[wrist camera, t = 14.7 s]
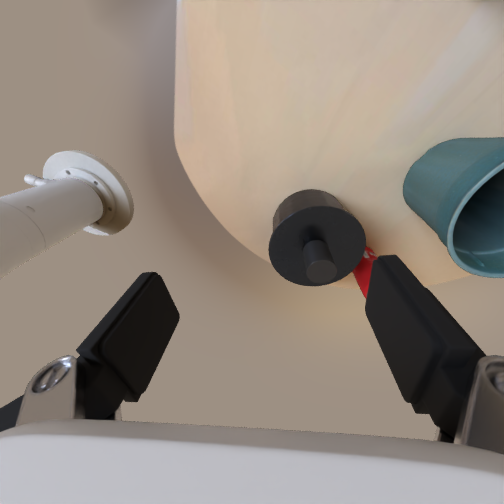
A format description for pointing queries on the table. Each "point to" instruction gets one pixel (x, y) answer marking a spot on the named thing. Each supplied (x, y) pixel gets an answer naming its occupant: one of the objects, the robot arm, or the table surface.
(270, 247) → the lid
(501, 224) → the flower pot
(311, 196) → the pot
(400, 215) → the table surface
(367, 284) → the beverage can
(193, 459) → the robot arm
